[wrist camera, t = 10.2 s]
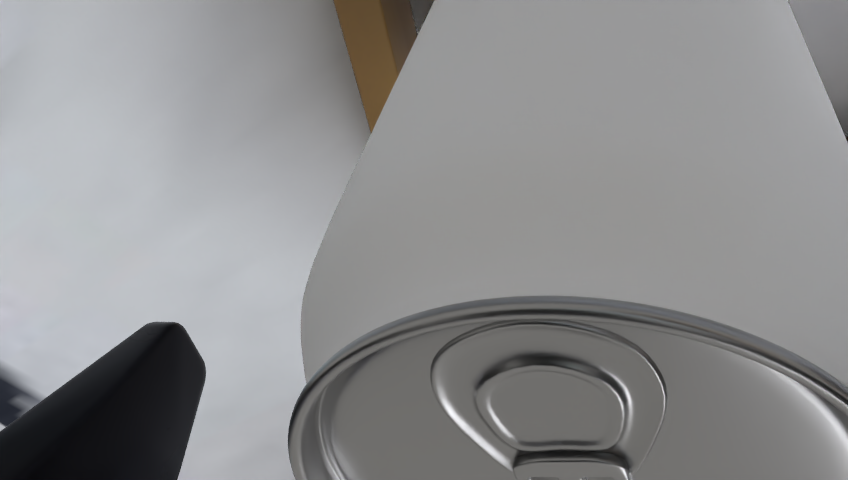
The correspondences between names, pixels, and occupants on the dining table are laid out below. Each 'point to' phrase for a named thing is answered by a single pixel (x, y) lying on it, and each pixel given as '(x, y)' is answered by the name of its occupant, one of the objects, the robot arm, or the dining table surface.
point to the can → (587, 255)
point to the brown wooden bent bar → (377, 46)
